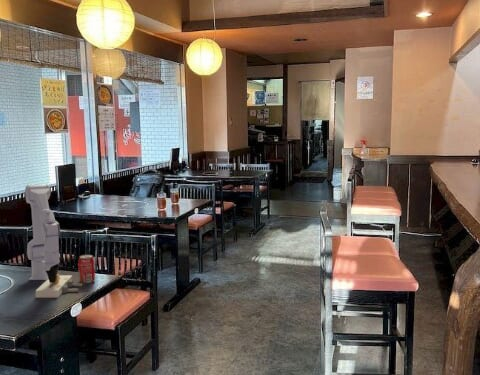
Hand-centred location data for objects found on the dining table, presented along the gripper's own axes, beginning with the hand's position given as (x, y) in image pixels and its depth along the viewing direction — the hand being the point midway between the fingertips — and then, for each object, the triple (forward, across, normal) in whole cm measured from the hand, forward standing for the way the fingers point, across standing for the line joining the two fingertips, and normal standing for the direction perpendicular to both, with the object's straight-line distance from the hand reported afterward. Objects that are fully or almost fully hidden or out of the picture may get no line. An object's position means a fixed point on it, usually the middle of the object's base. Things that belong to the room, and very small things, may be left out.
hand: (52, 282), depth 197 cm
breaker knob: (+1, -3, 0) cm, 3 cm away
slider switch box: (+4, -3, 0) cm, 5 cm away
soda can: (+4, -12, +12) cm, 17 cm away
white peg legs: (+4, -2, +8) cm, 9 cm away
